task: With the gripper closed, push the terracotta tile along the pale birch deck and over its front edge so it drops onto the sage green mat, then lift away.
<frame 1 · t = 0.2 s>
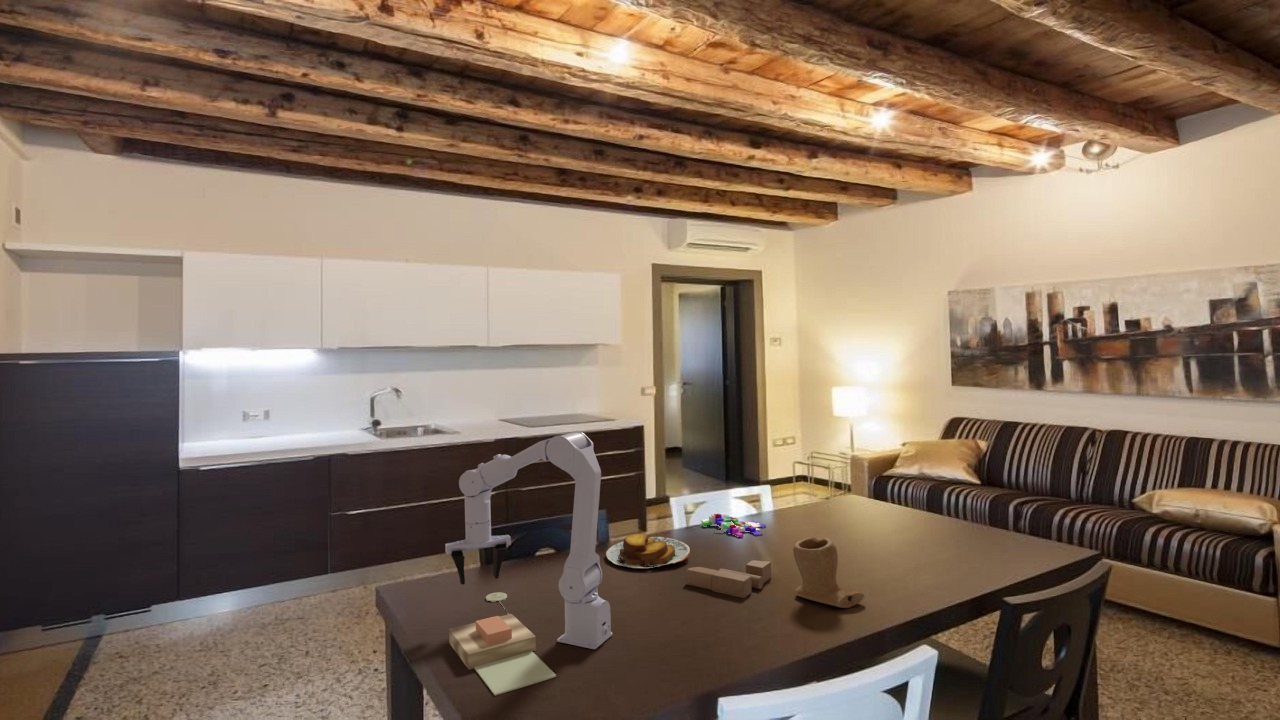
hand: (479, 580, 144), 10 cm above the table, tool pointing down, fingers open, 7 cm apart
deck: (491, 646, 132), on the table
sign: (501, 607, 154), on the table
mat: (514, 672, 121), on the table
tile: (493, 634, 131), point 3 cm above the table, touching deck
wooden block set: (730, 584, 167), on the table
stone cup: (824, 602, 153), on the table
food on plate: (648, 559, 189), on the table
building block set: (735, 529, 221), on the table
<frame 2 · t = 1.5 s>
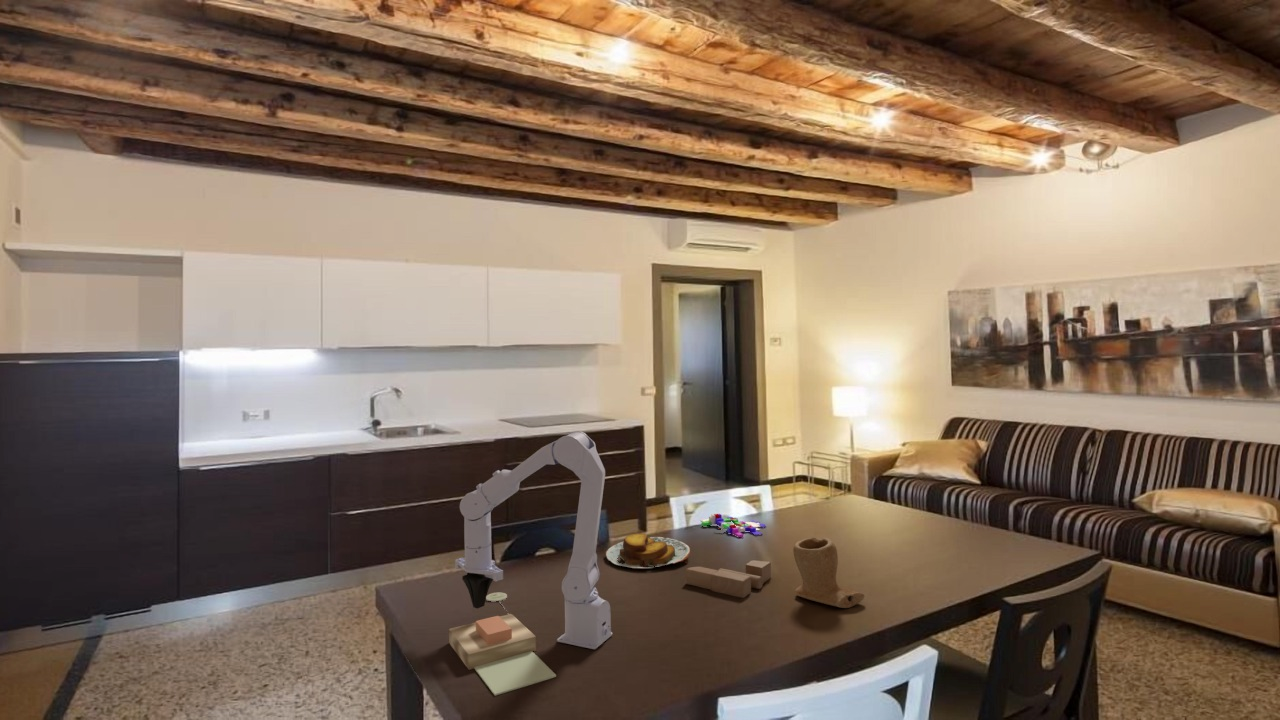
hand: (478, 606, 138), 6 cm above the table, tool pointing down, fingers closed
nothing on the table moved.
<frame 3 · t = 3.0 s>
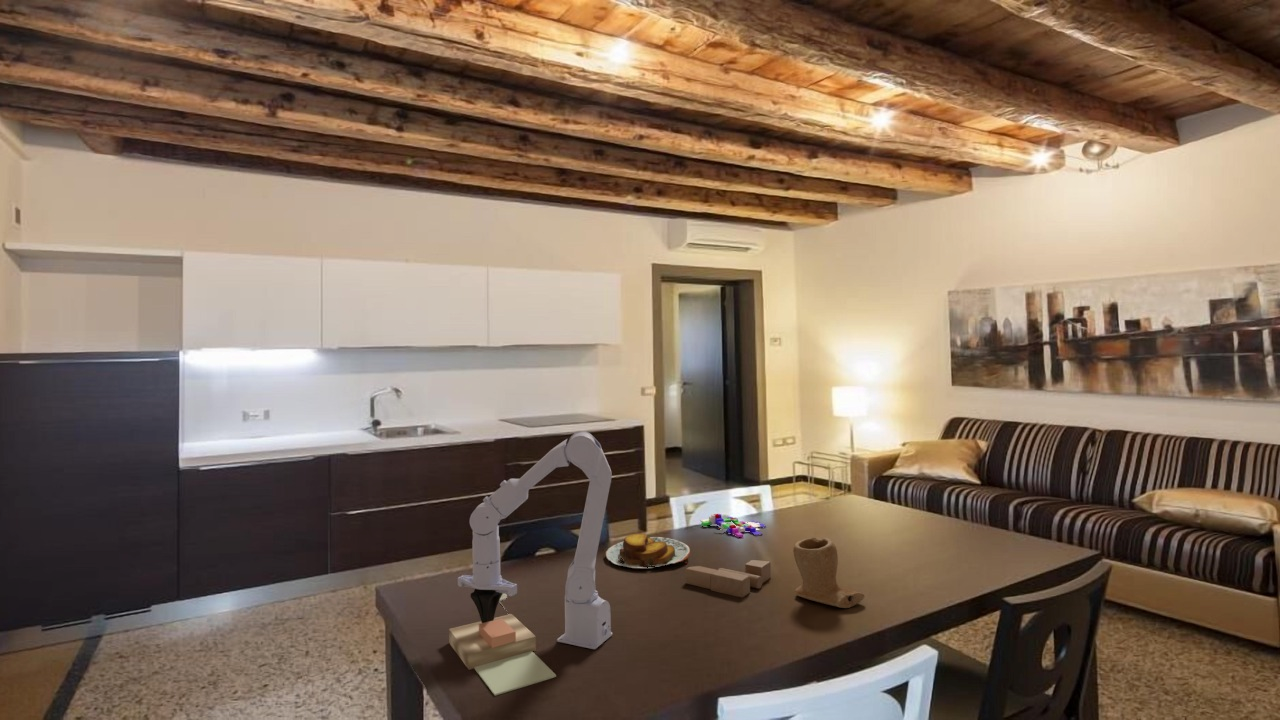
hand: (487, 623, 134), 4 cm above the table, tool pointing down, fingers closed
tile: (497, 637, 129), point 3 cm above the table, touching gripper
everything else where it was.
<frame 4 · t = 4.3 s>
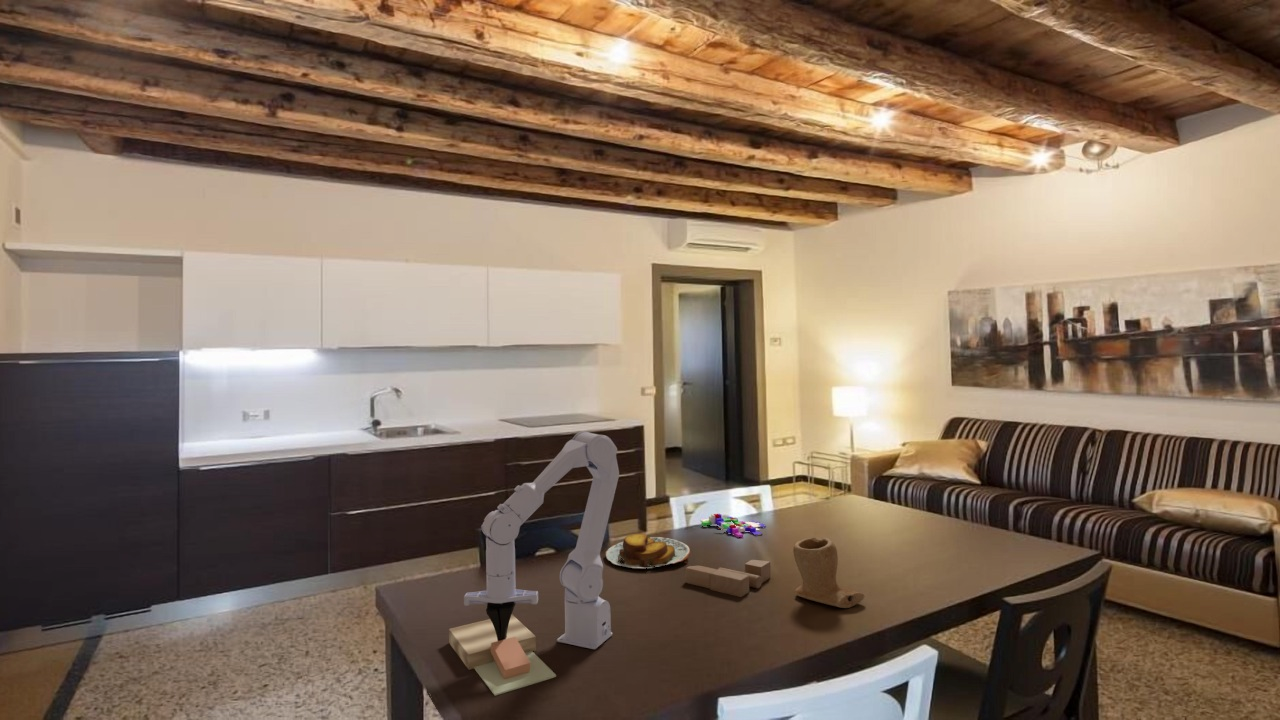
hand: (502, 639, 126), 4 cm above the table, tool pointing down, fingers closed
tile: (509, 661, 122), point 1 cm above the table, tilted 16°
everything else where it was.
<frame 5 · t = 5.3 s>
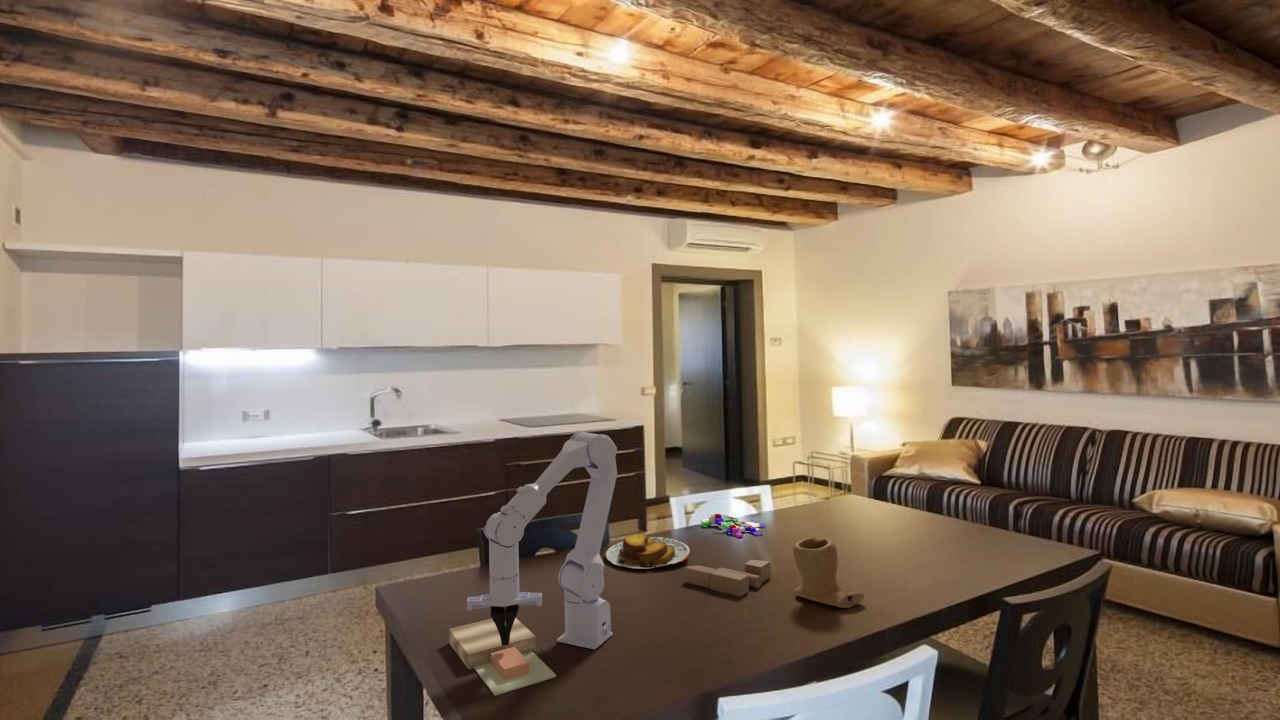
hand: (505, 642, 124), 4 cm above the table, tool pointing down, fingers closed
tile: (509, 667, 122), resting on mat
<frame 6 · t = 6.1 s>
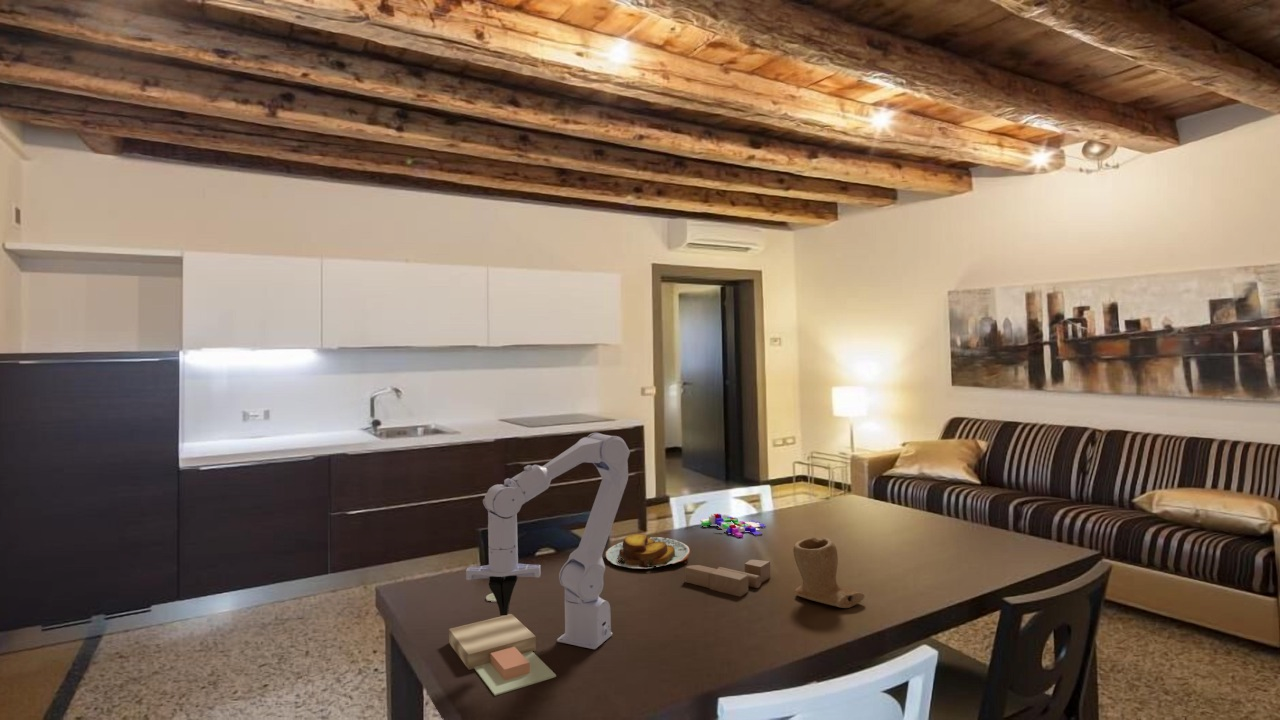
hand: (504, 613, 126), 9 cm above the table, tool pointing down, fingers closed
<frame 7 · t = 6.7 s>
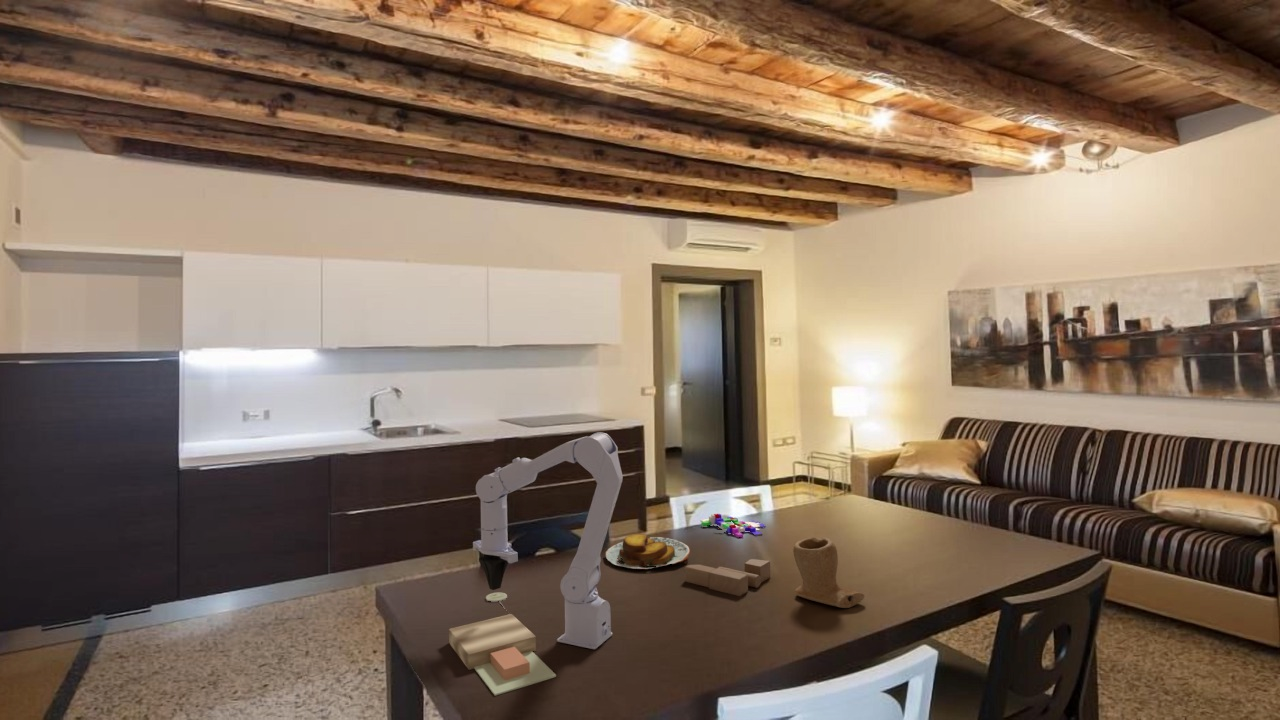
hand: (495, 588, 140), 9 cm above the table, tool pointing down, fingers closed
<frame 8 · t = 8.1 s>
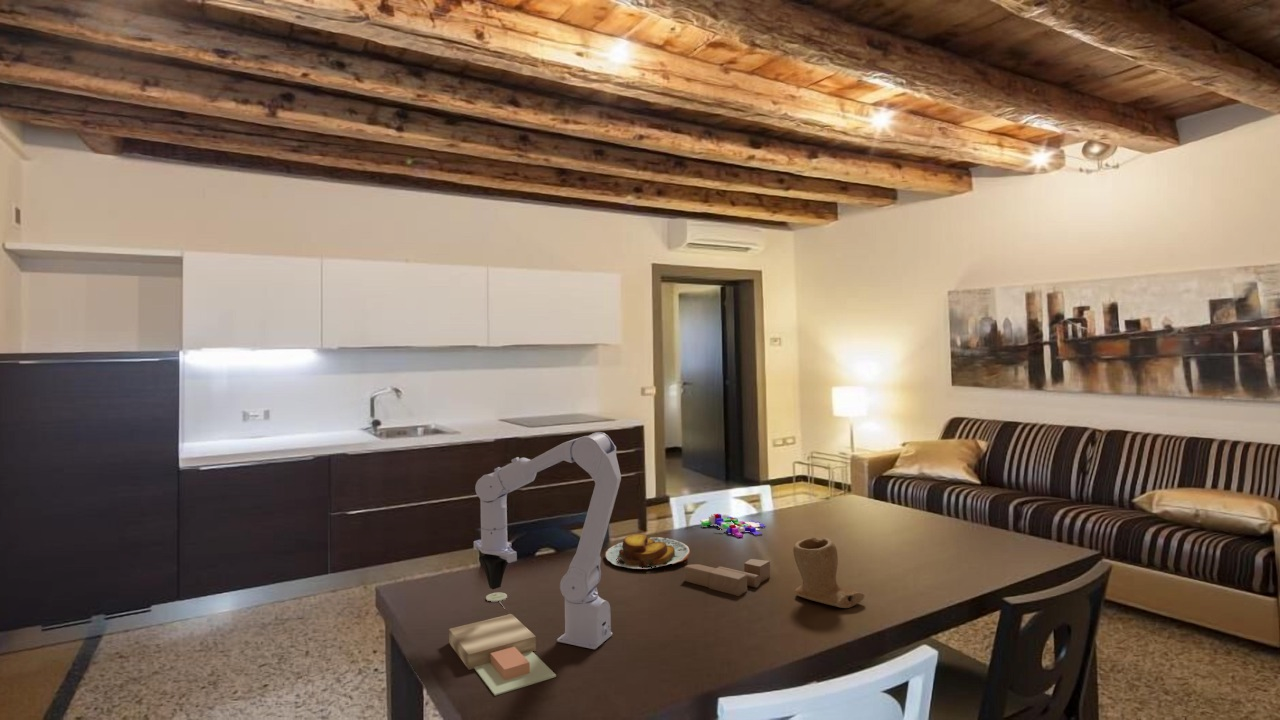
hand: (495, 587, 140), 9 cm above the table, tool pointing down, fingers closed
at the end: tile 1.8 cm from the mat (horizontally); tile resting on mat; tile touching mat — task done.
